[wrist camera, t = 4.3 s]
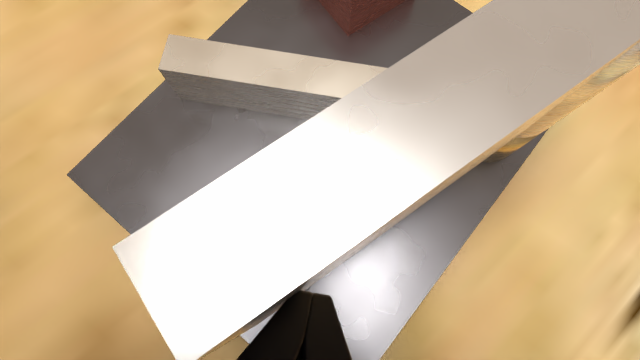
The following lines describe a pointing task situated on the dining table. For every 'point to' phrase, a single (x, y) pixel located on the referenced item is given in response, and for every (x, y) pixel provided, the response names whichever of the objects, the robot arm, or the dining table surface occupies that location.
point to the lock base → (279, 119)
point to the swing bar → (370, 163)
